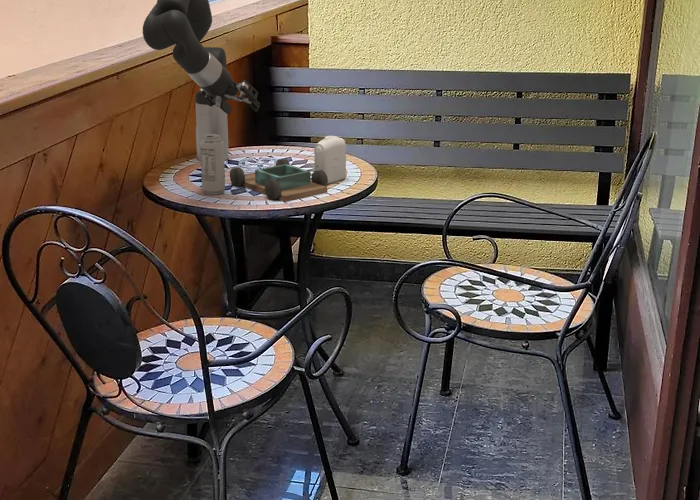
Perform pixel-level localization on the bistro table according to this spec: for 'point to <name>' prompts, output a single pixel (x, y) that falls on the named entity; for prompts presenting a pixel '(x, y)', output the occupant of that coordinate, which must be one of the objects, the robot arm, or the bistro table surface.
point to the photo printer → (331, 158)
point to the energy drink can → (212, 164)
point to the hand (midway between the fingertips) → (243, 109)
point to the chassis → (282, 181)
